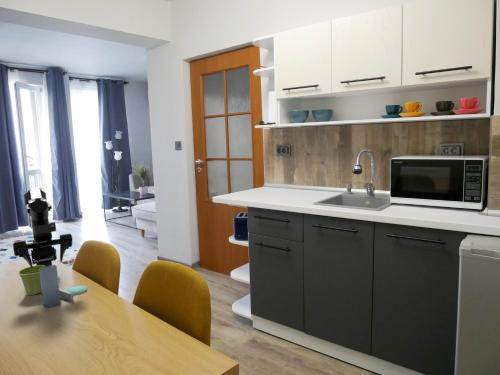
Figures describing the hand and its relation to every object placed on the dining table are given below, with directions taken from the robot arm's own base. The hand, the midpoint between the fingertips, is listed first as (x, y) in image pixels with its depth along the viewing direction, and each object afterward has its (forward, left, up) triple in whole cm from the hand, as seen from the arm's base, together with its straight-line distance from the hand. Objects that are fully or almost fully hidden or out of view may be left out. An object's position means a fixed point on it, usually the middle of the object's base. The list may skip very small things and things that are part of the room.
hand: (46, 264), depth 133 cm
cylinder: (+6, -3, -12) cm, 14 cm away
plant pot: (-10, 0, -12) cm, 16 cm away
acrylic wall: (+4, +2, -12) cm, 13 cm away
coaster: (+3, +8, -12) cm, 15 cm away
